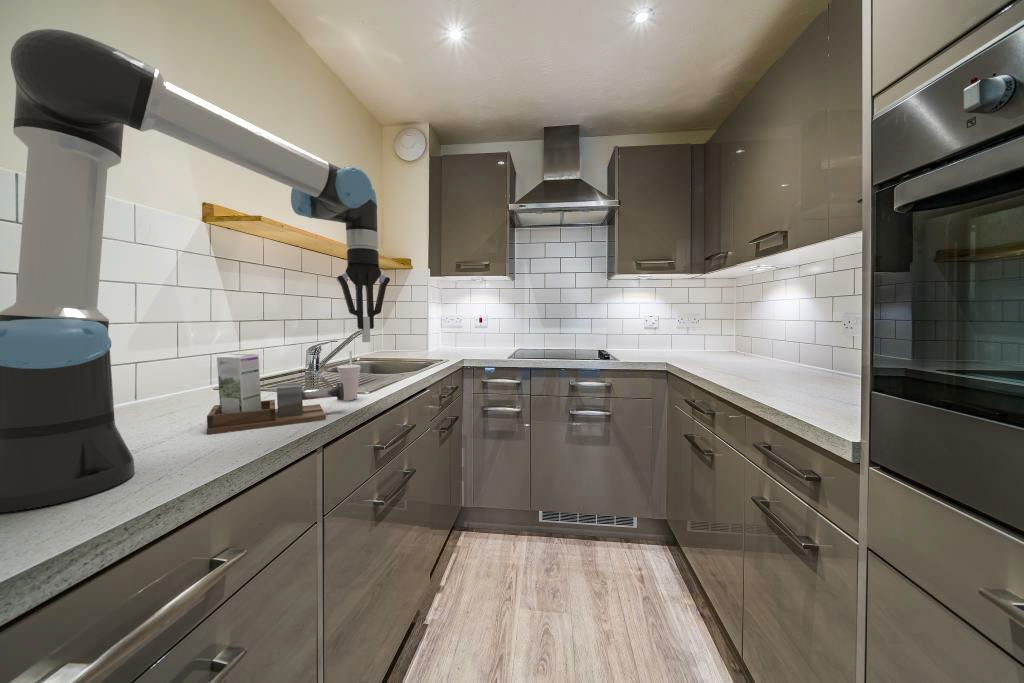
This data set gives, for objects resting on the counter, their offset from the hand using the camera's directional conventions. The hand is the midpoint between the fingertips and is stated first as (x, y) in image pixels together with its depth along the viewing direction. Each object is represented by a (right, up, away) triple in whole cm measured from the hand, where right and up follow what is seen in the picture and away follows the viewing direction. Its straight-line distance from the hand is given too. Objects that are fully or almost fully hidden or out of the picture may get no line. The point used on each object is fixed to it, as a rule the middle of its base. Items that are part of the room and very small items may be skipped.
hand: (366, 341), depth 102 cm
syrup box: (-23, -18, -13) cm, 32 cm away
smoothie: (-9, -17, +12) cm, 22 cm away
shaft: (-11, -15, -6) cm, 19 cm away
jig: (-18, -18, -10) cm, 28 cm away
